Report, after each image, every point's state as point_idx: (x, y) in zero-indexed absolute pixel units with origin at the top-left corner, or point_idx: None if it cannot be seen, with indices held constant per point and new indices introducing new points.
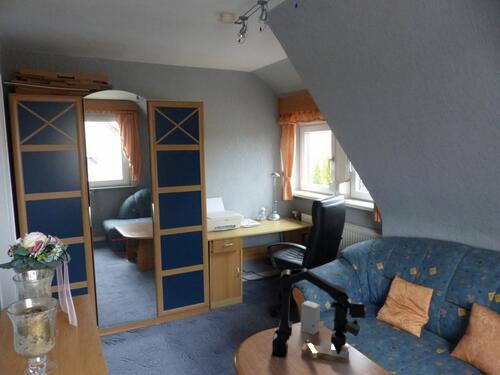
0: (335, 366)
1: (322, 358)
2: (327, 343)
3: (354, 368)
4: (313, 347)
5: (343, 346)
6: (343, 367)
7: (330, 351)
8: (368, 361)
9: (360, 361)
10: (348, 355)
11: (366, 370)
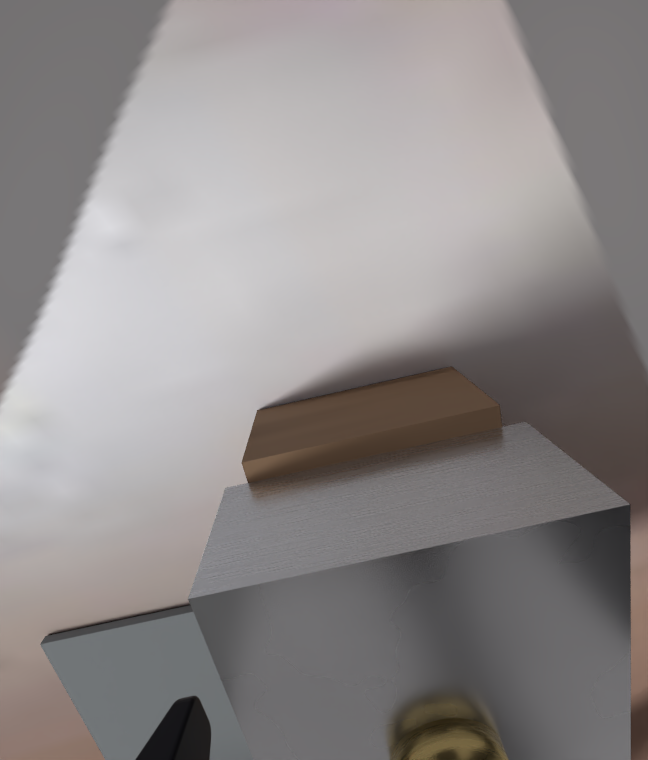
0: None
1: None
2: (106, 741)
3: (530, 237)
4: None
5: (386, 658)
6: (570, 397)
7: None
8: (170, 47)
9: (264, 200)
10: (413, 425)
11: (504, 2)
